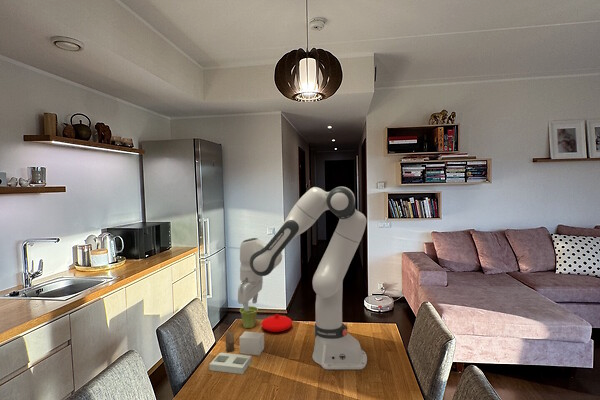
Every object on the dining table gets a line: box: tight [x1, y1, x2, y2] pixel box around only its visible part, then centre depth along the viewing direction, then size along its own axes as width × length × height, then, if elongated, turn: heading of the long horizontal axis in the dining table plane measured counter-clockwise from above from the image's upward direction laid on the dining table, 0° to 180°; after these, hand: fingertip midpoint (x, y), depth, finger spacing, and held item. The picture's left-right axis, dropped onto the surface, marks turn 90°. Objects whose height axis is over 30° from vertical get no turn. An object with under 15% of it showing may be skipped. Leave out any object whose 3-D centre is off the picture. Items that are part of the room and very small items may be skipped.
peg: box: [225, 329, 235, 353], centre depth 142 cm, size 4×4×8 cm
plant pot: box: [239, 305, 259, 329], centre depth 167 cm, size 9×9×9 cm
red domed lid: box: [260, 313, 293, 333], centre depth 163 cm, size 16×16×7 cm
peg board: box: [208, 352, 252, 375], centre depth 129 cm, size 14×9×2 cm, turn 77°
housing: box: [238, 330, 265, 356], centre depth 141 cm, size 9×6×7 cm, turn 77°
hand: (250, 306), depth 140 cm, fingers open, 8 cm apart
